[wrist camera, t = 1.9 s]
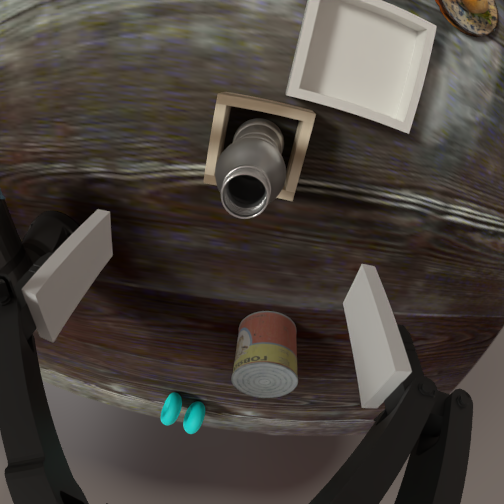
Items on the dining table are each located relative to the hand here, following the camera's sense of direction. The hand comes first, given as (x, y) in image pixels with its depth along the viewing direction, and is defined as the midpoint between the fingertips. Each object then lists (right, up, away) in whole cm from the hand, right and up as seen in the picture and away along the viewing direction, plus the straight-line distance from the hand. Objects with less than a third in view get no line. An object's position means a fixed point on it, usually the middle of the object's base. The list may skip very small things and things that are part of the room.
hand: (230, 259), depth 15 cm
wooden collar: (+2, +15, +24) cm, 28 cm away
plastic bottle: (+2, +15, +24) cm, 28 cm away
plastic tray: (+15, +25, +16) cm, 33 cm away
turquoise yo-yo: (-17, -40, +62) cm, 76 cm away
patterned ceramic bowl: (+32, +37, +8) cm, 49 cm away
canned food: (+4, -15, +43) cm, 46 cm away
